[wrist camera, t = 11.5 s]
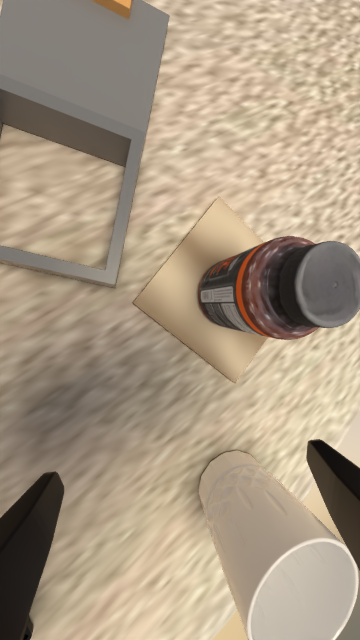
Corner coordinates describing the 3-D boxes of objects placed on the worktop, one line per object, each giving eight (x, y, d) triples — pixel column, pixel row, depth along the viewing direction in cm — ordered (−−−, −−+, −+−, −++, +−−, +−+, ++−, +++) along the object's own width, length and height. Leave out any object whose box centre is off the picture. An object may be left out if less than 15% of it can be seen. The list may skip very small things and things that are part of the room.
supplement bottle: (236, 249, 22) (357, 193, 11) (265, 305, 23) (402, 305, 12) (182, 282, 21) (256, 257, 10) (215, 339, 22) (315, 374, 11)
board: (232, 381, 23) (235, 383, 23) (132, 302, 20) (133, 302, 20) (300, 285, 24) (305, 285, 24) (216, 199, 22) (219, 196, 21)
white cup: (178, 512, 23) (225, 668, 13) (212, 434, 23) (281, 528, 13) (246, 527, 25) (330, 671, 15) (275, 455, 25) (376, 549, 15)
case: (115, 288, 20) (114, 284, 16) (-37, 254, 17) (-75, 242, 14) (167, 29, 20) (177, -28, 16) (22, -47, 17) (-2, -135, 14)
